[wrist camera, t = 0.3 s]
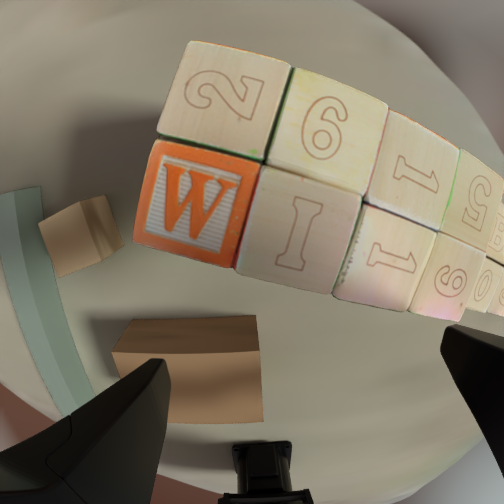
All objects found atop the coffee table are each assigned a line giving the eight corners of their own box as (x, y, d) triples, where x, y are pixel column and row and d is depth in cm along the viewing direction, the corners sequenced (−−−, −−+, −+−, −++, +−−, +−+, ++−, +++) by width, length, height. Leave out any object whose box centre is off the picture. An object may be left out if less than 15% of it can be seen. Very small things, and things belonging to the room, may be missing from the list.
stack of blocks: (460, 208, 20) (570, 245, 9) (437, 274, 22) (533, 342, 10) (218, 112, 18) (184, 33, 6) (192, 199, 20) (124, 244, 8)
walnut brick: (259, 381, 24) (263, 421, 19) (151, 382, 24) (138, 420, 19) (255, 313, 22) (259, 350, 17) (133, 318, 22) (111, 352, 17)
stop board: (110, 425, 26) (101, 447, 22) (88, 421, 26) (79, 442, 22) (40, 186, 18) (13, 190, 15) (17, 191, 18) (-9, 197, 15)
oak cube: (124, 244, 20) (101, 261, 16) (84, 260, 20) (58, 277, 17) (106, 194, 19) (79, 201, 15) (67, 213, 19) (37, 223, 15)
